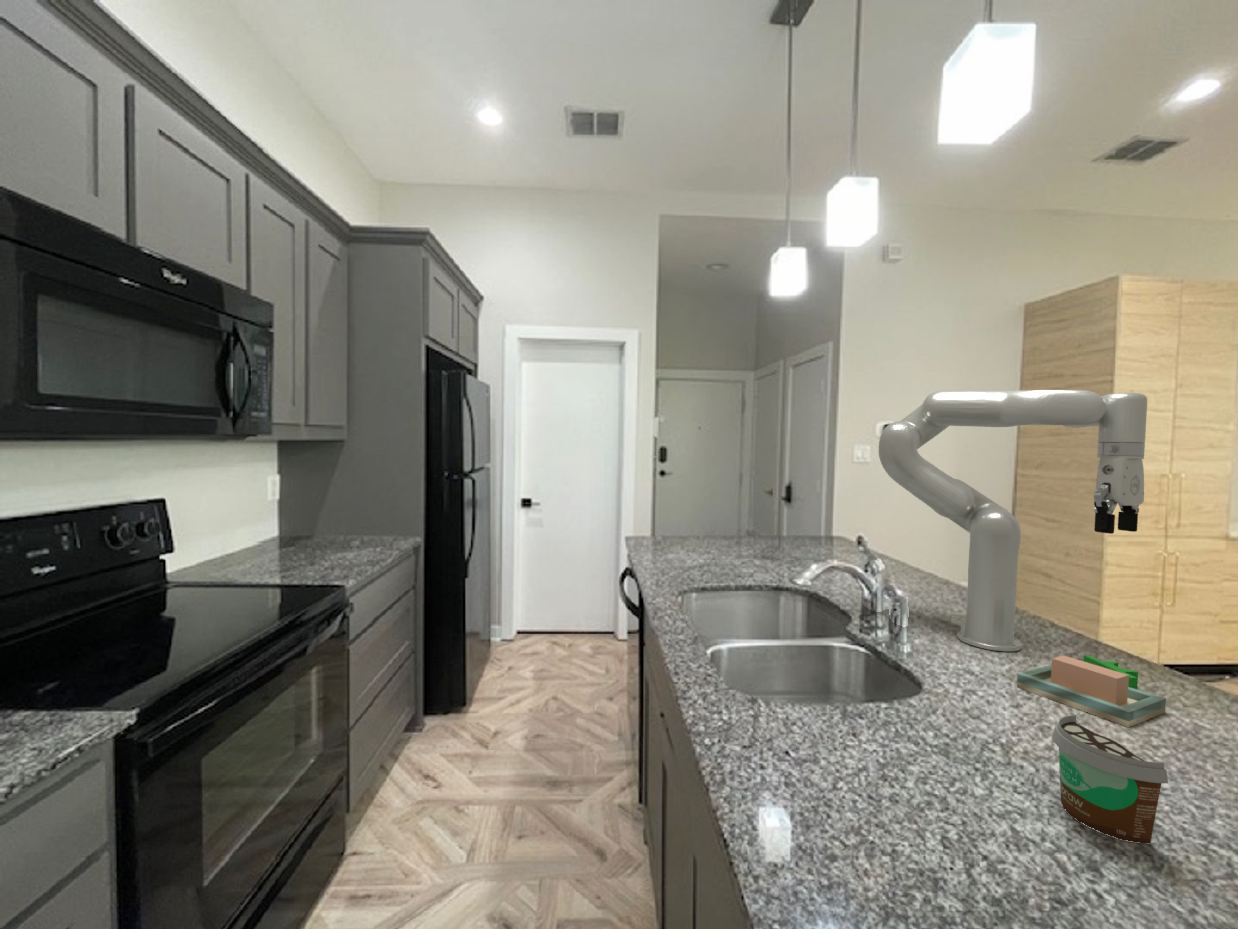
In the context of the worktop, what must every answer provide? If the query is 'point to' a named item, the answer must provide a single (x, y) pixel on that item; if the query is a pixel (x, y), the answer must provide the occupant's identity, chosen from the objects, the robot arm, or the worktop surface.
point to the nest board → (1094, 699)
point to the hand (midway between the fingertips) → (1115, 531)
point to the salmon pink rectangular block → (1090, 679)
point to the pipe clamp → (1114, 666)
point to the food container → (1107, 783)
